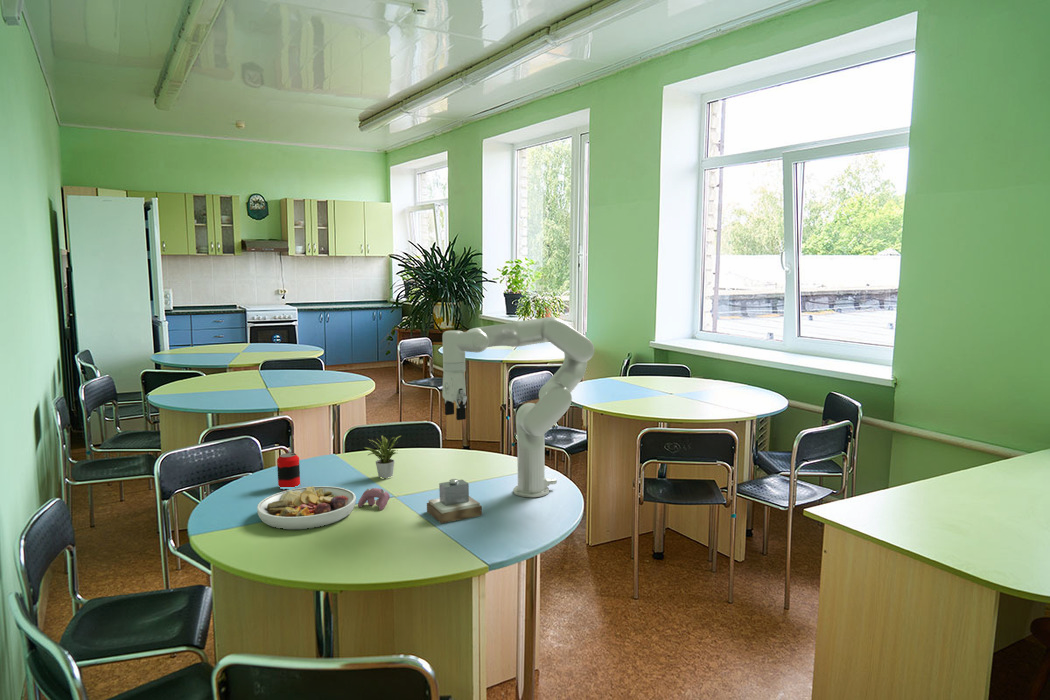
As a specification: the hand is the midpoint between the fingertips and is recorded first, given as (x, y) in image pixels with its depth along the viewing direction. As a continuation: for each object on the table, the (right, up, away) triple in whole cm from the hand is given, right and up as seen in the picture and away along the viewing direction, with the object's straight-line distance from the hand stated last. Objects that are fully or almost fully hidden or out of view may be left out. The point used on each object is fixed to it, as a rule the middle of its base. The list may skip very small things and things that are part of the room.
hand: (455, 417), depth 226 cm
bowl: (-46, -31, -12) cm, 57 cm away
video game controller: (-26, -30, -5) cm, 40 cm away
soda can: (-62, -27, +16) cm, 70 cm away
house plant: (-29, -26, +29) cm, 48 cm away
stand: (+1, -30, -12) cm, 32 cm away
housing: (+1, -26, -13) cm, 29 cm away
